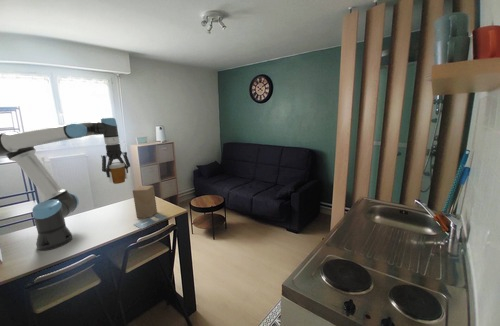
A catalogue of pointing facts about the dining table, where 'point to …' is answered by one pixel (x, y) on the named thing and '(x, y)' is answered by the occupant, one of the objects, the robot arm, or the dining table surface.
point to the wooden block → (144, 201)
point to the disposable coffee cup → (117, 172)
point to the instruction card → (149, 221)
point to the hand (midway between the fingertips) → (118, 180)
